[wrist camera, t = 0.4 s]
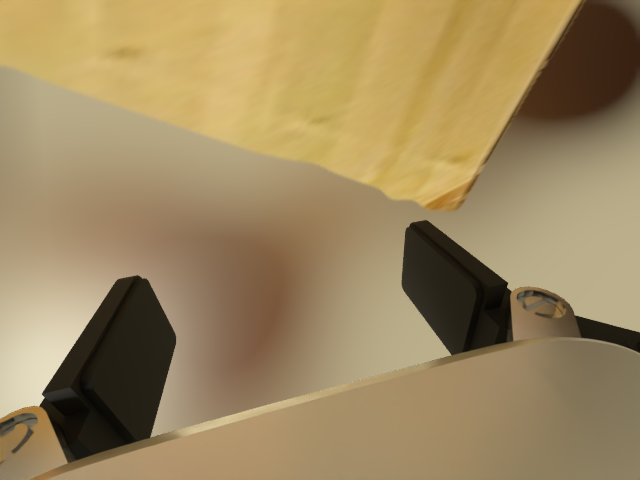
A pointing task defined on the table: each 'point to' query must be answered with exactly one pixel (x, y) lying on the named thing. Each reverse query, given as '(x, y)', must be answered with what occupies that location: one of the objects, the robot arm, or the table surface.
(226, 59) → the table surface
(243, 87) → the table surface
